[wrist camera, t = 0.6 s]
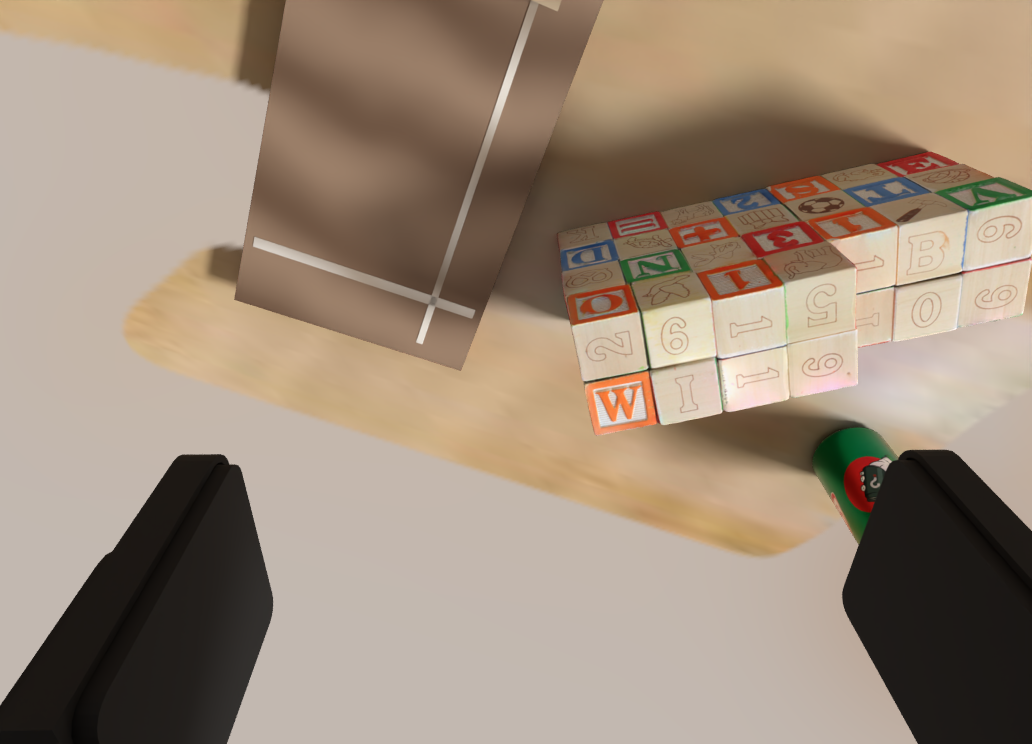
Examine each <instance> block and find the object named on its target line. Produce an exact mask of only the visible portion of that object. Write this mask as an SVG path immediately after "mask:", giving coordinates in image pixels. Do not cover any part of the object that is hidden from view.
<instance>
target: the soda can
mask: <svg viewBox="0 0 1032 744" xmlns="http://www.w3.org/2000/svg"><path fill="white" fill-rule="evenodd" d="M895 460H898V456H897V455H896V454H895V453H894V451H893V450H892V449H891V448H890V446H889V445H888V444H887V443H886V441H885V440H884V439H883V438H882V436H881V435H880V434H878V433H877V432H875V431H874V430H871V429H868V428H861V427H852V428H846V429H841V430H839V431H836V432H834V433H832V434H831V435H829V436H828V437H826V438H825V439H824V440H823V441H822V442H821V443H820V445H819V446H818V447H817V449H816V451H815V453H814V456H813V461H812V465H813V469H814V472H815V474H816V475H817V477H818V479H819V480H820V482H821V483H822V485H823V487H824V488H825V490H826V492H827V493H828V495H829V497H830V498H831V500H832V502H833V503H834V505H835V507H836V508H837V510H838V512H839V513H840V515H841V517H842V518H843V520H844V522H845V523H846V525H847V526H848V528H849V530H850V532H851V533H852V535H853V536H854V538H855V540H856V541H857V543H858V545H859V543H860V541H861V538H862V535H863V532H864V530H865V527H866V524H867V522H868V519H869V516H870V513H871V511H872V508H873V505H874V502H875V500H876V497H877V494H878V491H879V489H880V486H881V483H882V480H883V478H884V475H885V472H886V469H887V467H888V465H889V464H890V463H891V462H892V461H895Z"/></svg>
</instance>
